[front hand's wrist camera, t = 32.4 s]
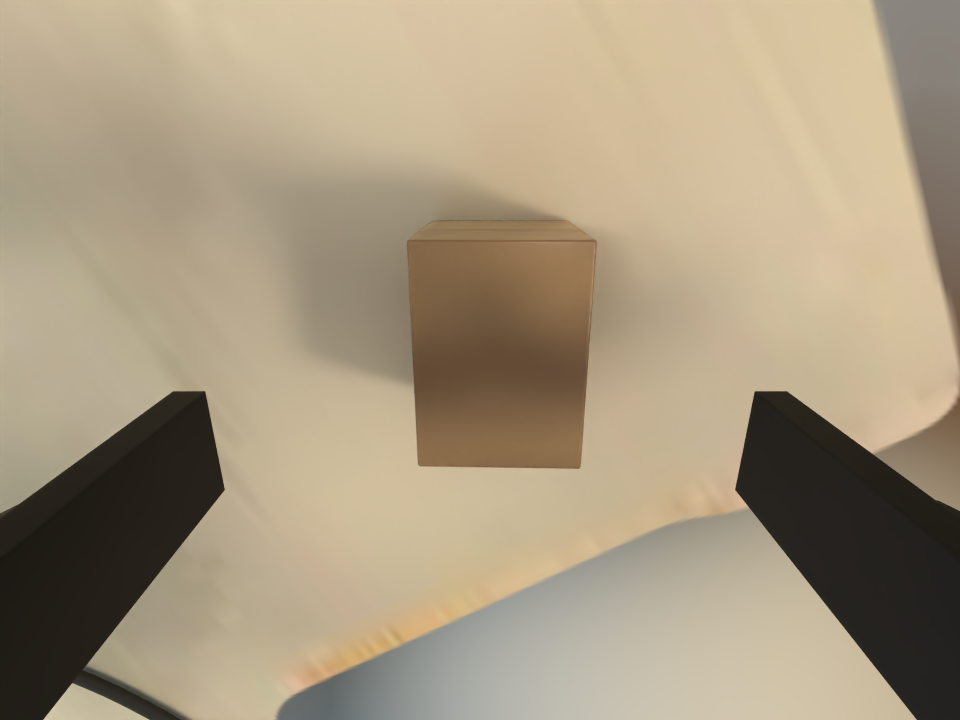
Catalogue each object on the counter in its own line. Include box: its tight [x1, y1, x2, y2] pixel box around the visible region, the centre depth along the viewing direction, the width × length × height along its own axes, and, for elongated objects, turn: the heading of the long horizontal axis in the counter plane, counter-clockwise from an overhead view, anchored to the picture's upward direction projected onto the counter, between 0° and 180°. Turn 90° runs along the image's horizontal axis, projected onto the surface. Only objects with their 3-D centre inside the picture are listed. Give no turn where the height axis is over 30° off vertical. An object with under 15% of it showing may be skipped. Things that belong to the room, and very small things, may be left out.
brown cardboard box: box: [407, 221, 597, 469], centre depth 22 cm, size 9×6×7 cm
